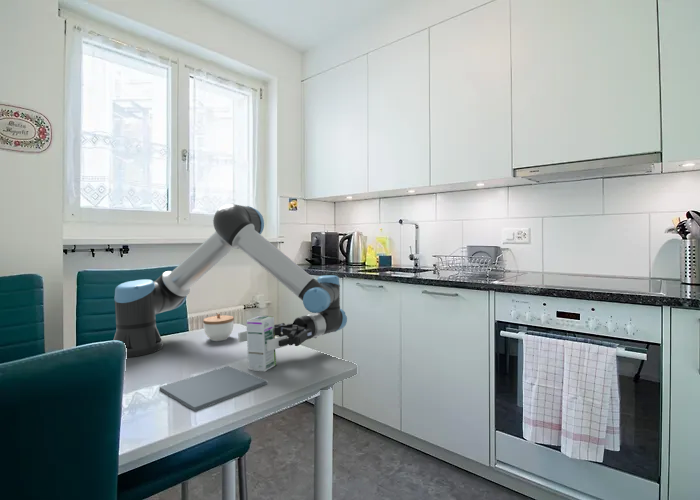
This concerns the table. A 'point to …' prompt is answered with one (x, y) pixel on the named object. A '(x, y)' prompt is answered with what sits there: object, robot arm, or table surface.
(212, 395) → the mat
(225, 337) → the lidded jar
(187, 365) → the table surface
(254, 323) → the syrup box
